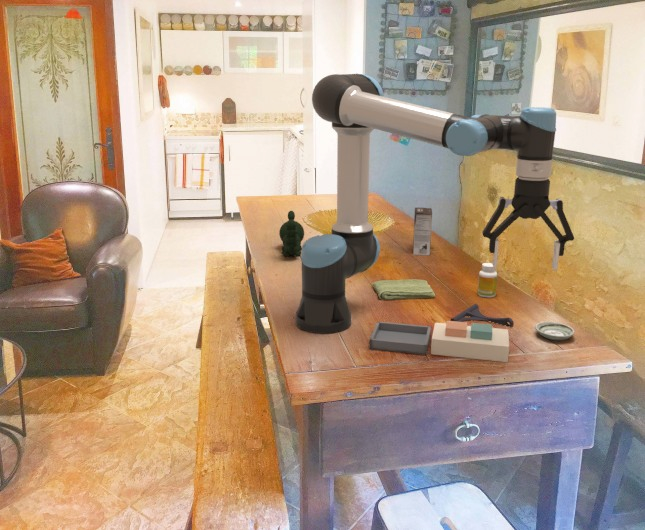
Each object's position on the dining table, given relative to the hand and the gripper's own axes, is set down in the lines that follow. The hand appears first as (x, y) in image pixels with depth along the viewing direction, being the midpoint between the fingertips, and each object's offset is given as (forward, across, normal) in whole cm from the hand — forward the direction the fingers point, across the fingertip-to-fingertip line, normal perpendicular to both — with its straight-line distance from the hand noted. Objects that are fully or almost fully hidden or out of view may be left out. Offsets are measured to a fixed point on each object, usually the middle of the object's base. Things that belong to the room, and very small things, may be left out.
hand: (524, 267), depth 150 cm
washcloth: (+22, -30, +38) cm, 53 cm away
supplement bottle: (+21, -4, +40) cm, 45 cm away
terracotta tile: (+17, -15, -1) cm, 23 cm away
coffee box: (+21, -25, +84) cm, 91 cm away
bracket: (+22, -6, +19) cm, 30 cm away
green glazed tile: (+17, -9, -1) cm, 20 cm away
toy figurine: (+21, -73, +74) cm, 106 cm away
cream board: (+21, -11, -1) cm, 24 cm away
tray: (+21, -28, 0) cm, 35 cm away
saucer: (+22, +10, +11) cm, 26 cm away
